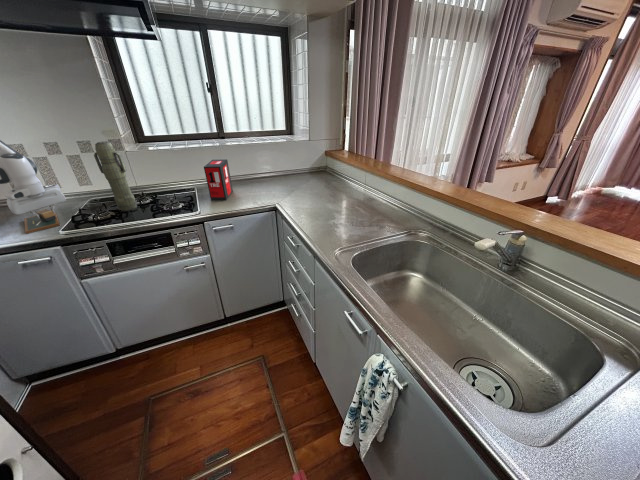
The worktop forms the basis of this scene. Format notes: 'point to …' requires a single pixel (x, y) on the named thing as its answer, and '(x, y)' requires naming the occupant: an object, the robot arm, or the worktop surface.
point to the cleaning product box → (218, 179)
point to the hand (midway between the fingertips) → (46, 215)
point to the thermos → (115, 175)
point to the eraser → (46, 215)
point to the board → (39, 224)
